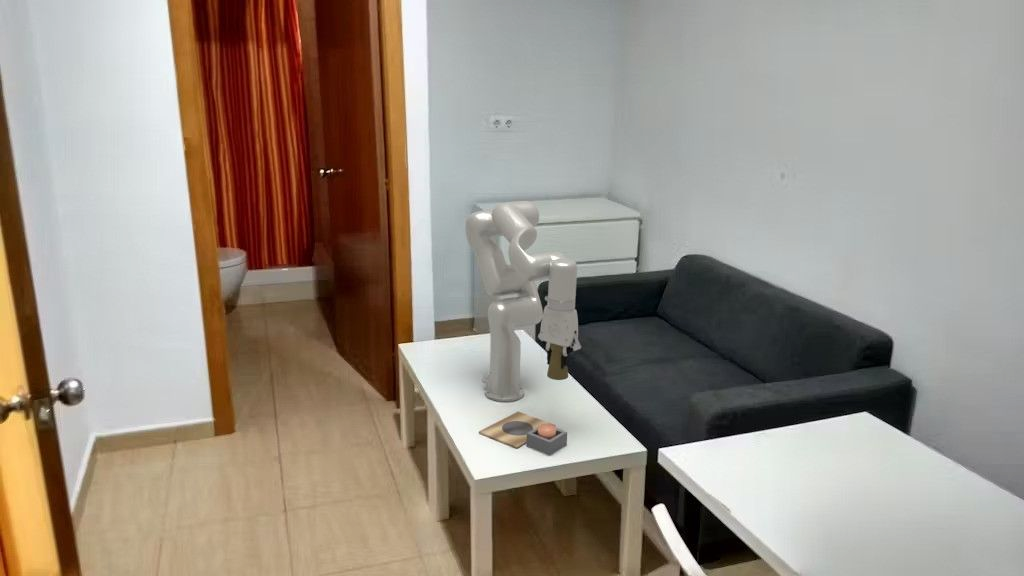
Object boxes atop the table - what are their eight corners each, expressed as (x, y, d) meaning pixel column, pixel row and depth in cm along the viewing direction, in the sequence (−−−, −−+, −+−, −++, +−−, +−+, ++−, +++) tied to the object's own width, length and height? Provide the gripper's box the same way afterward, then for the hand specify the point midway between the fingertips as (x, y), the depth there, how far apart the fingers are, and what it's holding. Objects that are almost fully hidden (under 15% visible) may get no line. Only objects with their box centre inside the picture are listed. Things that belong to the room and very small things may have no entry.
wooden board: (478, 433, 224) (478, 431, 224) (518, 413, 237) (518, 410, 237) (516, 449, 216) (516, 446, 215) (555, 427, 229) (555, 424, 229)
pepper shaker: (567, 381, 218) (569, 344, 215) (545, 378, 219) (547, 342, 215) (569, 372, 224) (571, 336, 220) (548, 370, 224) (550, 334, 221)
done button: (534, 437, 217) (534, 428, 216) (545, 431, 220) (545, 422, 220) (548, 443, 214) (549, 433, 213) (559, 437, 217) (559, 427, 217)
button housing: (526, 446, 217) (526, 433, 216) (543, 436, 223) (544, 423, 222) (549, 455, 212) (550, 442, 211) (566, 445, 218) (567, 432, 217)
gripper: (528, 300, 217) (526, 361, 222) (579, 313, 207) (575, 377, 213) (544, 294, 222) (541, 354, 228) (594, 307, 213) (590, 369, 218)
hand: (557, 364), depth 220 cm, fingers closed on pepper shaker, 3 cm apart
